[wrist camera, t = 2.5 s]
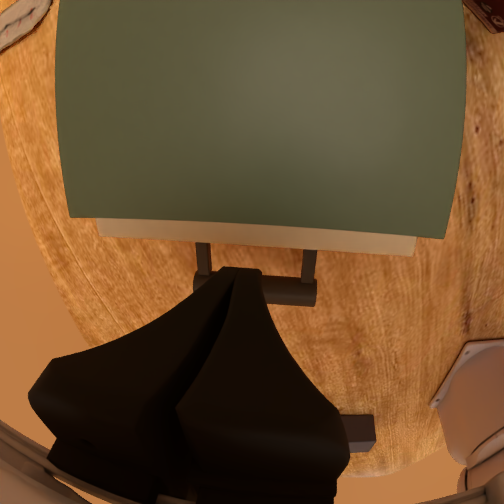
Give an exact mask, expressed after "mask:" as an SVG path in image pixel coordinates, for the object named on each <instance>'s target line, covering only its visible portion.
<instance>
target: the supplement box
mask: <svg viewBox="0 0 504 504" xmlns="http://www.w3.org/2000/svg"><path fill="white" fill-rule="evenodd" d="M462 1H463V2H464V3H465V4H466V5H467V6H468V7H469V8H470V9H471V10H472V11H473V13H474V14H475V15H476V16H477V17H478V18H479V19H480V20H481V21H482V22H483V23H484V25H485V26H486V27H487V28H488V30H489V31H490V32H491V33H493V34H494V33H500V32H504V0H462Z"/></svg>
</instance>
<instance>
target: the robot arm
mask: <svg viewBox="0 0 504 504" xmlns="http://www.w3.org/2000/svg"><path fill="white" fill-rule="evenodd" d="M28 399H29V402H30V405H31V407H32V408H33V410H34V411H35V413H36V414H37V415H38V417H39V418H40V419H41V420H42V421H43V423H44V424H45V425H46V426H47V427H48V428H49V430H50V431H51V432H52V433H53V434H54V435H55V437H56V438H57V439H56V441H55V443H54V444H53V446H52V448H51V450H49V449H47V448H45V447H44V446H42V445H40V444H38V443H36V442H35V441H33V440H31V439H29V438H28V437H26V436H24V435H23V434H21V433H20V432H18V431H16V430H15V429H13V428H11V427H10V426H9V425H7V424H5V423H4V422H3V421H1V420H0V504H92V503H90V502H88V501H87V500H85V499H84V498H82V497H81V496H80V495H78V494H77V493H76V492H74V490H72V489H71V488H69V487H68V486H66V485H65V484H63V483H61V482H59V481H58V480H56V479H55V478H54V477H56V478H58V479H60V480H62V481H64V482H66V483H68V484H70V485H72V486H74V487H76V488H78V489H80V490H82V491H84V492H86V493H88V494H91V495H93V496H95V497H97V498H100V499H102V500H104V501H107V502H109V503H112V504H334V497H335V496H336V493H337V479H338V477H339V476H340V475H341V473H342V472H343V471H344V469H345V468H346V466H347V465H348V463H349V460H350V448H349V443H348V438H347V434H346V430H345V427H344V424H343V421H342V419H341V416H340V413H339V411H338V409H337V408H336V407H335V406H334V405H333V404H332V403H331V402H330V401H329V400H328V399H326V397H325V396H324V395H323V394H322V393H321V392H320V391H319V390H318V389H317V388H316V387H315V386H314V384H313V383H312V382H311V381H310V380H309V378H308V377H307V376H306V375H305V373H304V372H303V371H302V369H301V368H300V367H299V365H298V364H297V362H296V361H295V360H294V358H293V357H292V356H291V354H290V352H289V351H288V349H287V347H286V346H285V344H284V342H283V341H282V339H281V337H280V335H279V333H278V331H277V329H276V327H275V325H274V322H273V320H272V318H271V315H270V313H269V310H268V307H267V304H266V300H265V297H264V293H263V289H262V272H261V271H260V270H259V269H252V268H238V267H225V266H223V267H222V268H221V269H220V270H218V271H217V272H216V273H215V274H214V275H213V276H212V277H211V278H209V279H208V280H207V281H206V282H205V283H204V284H203V285H202V286H200V287H199V288H198V289H197V290H196V291H194V292H193V293H192V294H191V295H190V296H188V297H187V298H186V299H184V300H183V301H182V302H180V303H179V304H178V305H176V306H175V307H174V308H172V309H171V310H170V311H168V312H167V313H165V314H163V315H162V316H160V317H159V318H157V319H155V320H154V321H152V322H150V323H149V324H147V325H145V326H143V327H141V328H139V329H137V330H135V331H133V332H131V333H129V334H127V335H125V336H123V337H120V338H118V339H116V340H113V341H111V342H108V343H106V344H103V345H100V346H97V347H95V348H92V349H89V350H86V351H82V352H78V353H74V354H71V355H67V356H63V357H59V358H54V359H52V360H51V362H50V363H49V364H48V365H47V367H46V368H45V370H44V371H43V372H42V374H41V375H40V377H39V378H38V379H37V381H36V383H35V384H34V385H33V387H32V388H31V390H30V391H29V392H28ZM429 406H430V408H437V410H438V414H439V417H440V421H441V425H442V429H443V432H444V436H445V440H446V444H447V448H448V451H449V453H450V455H451V456H452V458H453V459H454V460H455V461H456V462H458V463H460V464H462V465H466V466H467V467H465V468H464V469H463V471H462V472H461V474H460V478H459V480H458V484H457V494H454V495H450V496H446V497H443V498H439V499H435V500H431V501H426V502H422V503H418V504H504V339H500V340H489V341H476V342H468V343H467V344H465V346H464V348H463V349H462V351H461V353H460V355H459V357H458V358H457V360H456V362H455V364H454V366H453V367H452V369H451V371H450V372H449V374H448V376H447V377H446V379H445V381H444V382H443V384H442V385H441V387H440V388H439V390H438V392H437V393H436V395H435V396H434V398H433V399H432V401H431V402H430V404H429Z"/></svg>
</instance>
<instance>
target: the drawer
mask: <svg viewBox="0 0 504 504" xmlns="http://www.w3.org/2000/svg"><path fill="white" fill-rule="evenodd" d="M96 224H97V229H98V234H99V236H102V237H120V238H137V239H153V240H170V241H186V242H195V244H196V256H197V267H198V270H197V271H196V273H195V276H194V280H193V292H194V291H196V290H197V289H198V288H199V287H200V286H202V285H203V284H204V283H205V282H206V281H207V280H208V279H209V278H211V277H212V276H213V275H214V274H215V273H216V272H217V271H212V262H211V245H210V243H218V244H233V245H249V246H264V247H279V248H294V249H303V259H302V269H301V278H298V277H284V276H270V275H262V289H263V293H264V297H265V300H266V304H278V305H292V306H307V307H314V306H315V303H316V296H317V280H316V279H314V273H315V265H316V257H317V250H324V251H338V252H352V253H366V254H380V255H394V256H408V257H412V256H413V254H414V250H415V246H416V242H417V238H418V237H415V236H404V235H393V234H382V233H370V232H358V231H345V230H332V229H318V228H304V227H289V226H273V225H257V224H239V223H220V222H199V221H176V220H149V219H116V218H96Z"/></svg>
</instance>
